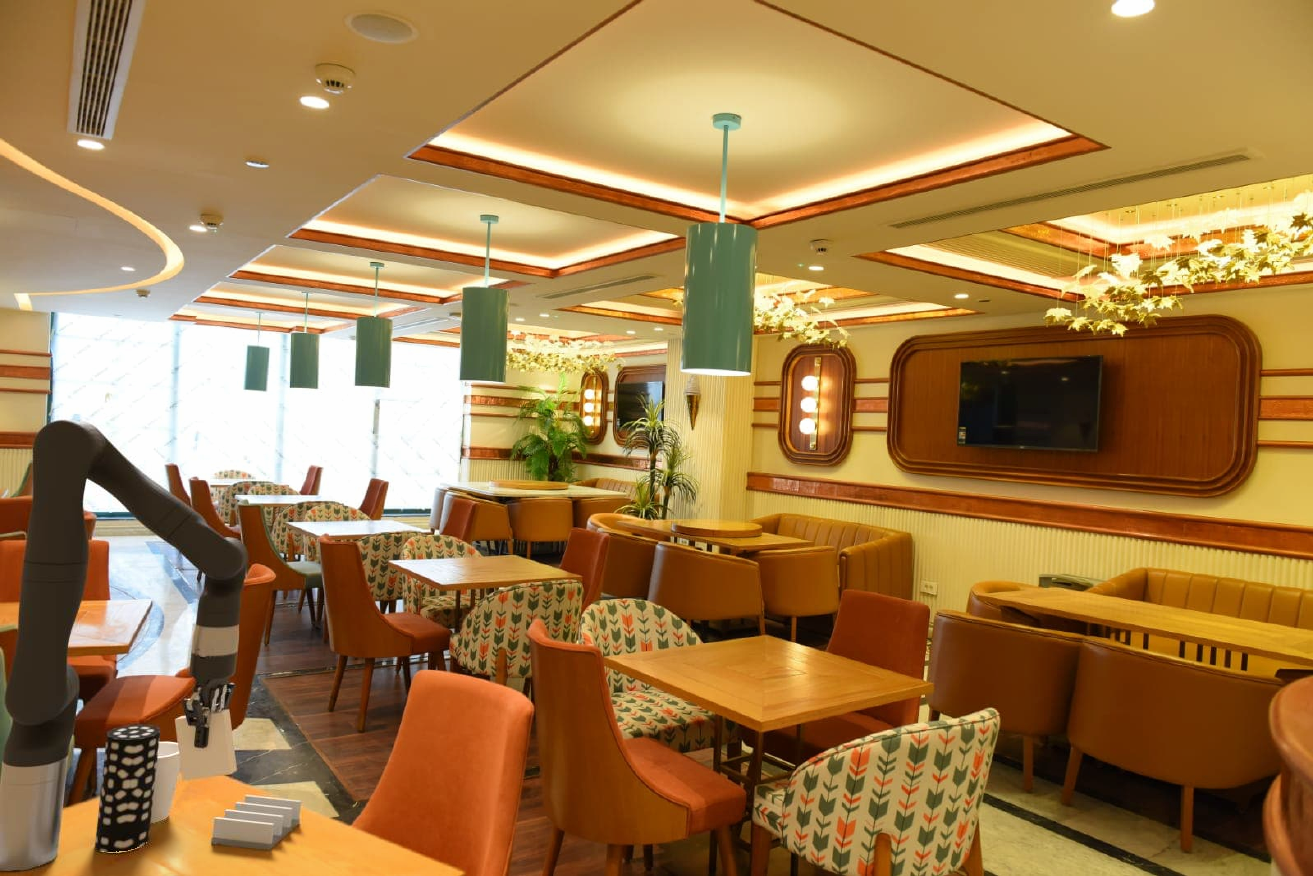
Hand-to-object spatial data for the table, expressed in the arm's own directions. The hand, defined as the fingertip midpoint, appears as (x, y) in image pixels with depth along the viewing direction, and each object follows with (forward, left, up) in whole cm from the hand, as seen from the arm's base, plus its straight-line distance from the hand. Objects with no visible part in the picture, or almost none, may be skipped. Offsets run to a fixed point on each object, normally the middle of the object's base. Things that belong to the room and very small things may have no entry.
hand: (204, 744), depth 155 cm
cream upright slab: (+2, 0, -5) cm, 6 cm away
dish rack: (+7, +9, -19) cm, 22 cm away
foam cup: (-15, +11, -19) cm, 27 cm away
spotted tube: (-13, 0, -19) cm, 23 cm away
